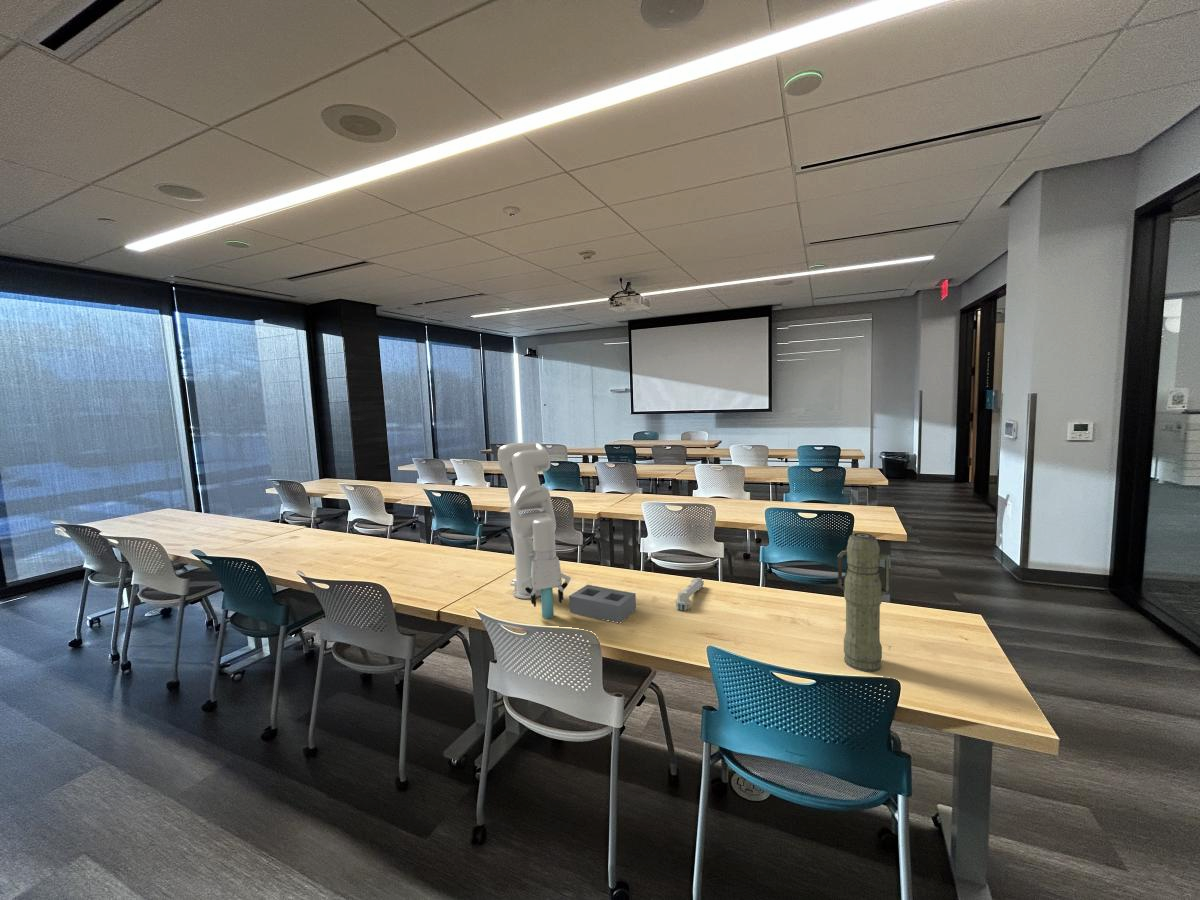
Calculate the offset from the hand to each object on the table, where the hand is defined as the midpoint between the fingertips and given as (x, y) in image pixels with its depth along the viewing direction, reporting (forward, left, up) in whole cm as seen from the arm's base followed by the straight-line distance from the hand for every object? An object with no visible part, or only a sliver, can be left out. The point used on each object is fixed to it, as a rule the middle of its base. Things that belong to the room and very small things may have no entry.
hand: (547, 603), depth 166 cm
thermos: (+95, +14, -5) cm, 96 cm away
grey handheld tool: (+38, +36, -5) cm, 53 cm away
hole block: (+15, +12, -5) cm, 20 cm away
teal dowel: (0, 0, -5) cm, 5 cm away
